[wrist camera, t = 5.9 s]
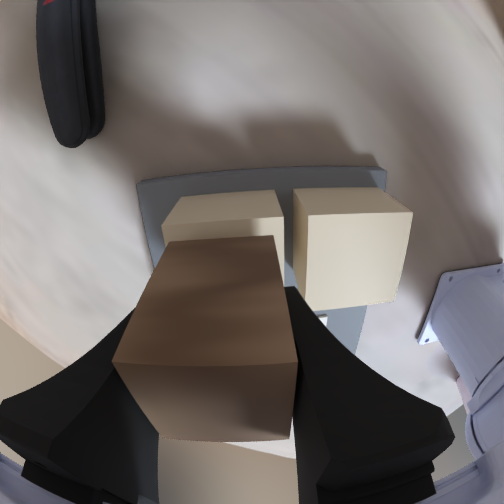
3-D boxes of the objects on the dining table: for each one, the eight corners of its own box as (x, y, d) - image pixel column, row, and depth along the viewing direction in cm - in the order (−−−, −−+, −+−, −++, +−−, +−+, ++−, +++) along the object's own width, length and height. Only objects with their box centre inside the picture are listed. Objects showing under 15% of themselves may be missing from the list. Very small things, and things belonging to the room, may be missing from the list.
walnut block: (273, 235, 11) (298, 361, 5) (275, 316, 12) (289, 439, 7) (169, 241, 11) (111, 361, 5) (187, 320, 12) (162, 437, 7)
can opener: (70, -55, 6) (32, -78, 1) (158, -86, 6) (135, -125, 1) (54, 150, 14) (-3, 173, 9) (146, 132, 14) (100, 145, 9)
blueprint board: (379, 167, 15) (424, 191, 11) (349, 354, 23) (364, 399, 18) (142, 180, 15) (104, 210, 11) (189, 365, 23) (182, 413, 18)
